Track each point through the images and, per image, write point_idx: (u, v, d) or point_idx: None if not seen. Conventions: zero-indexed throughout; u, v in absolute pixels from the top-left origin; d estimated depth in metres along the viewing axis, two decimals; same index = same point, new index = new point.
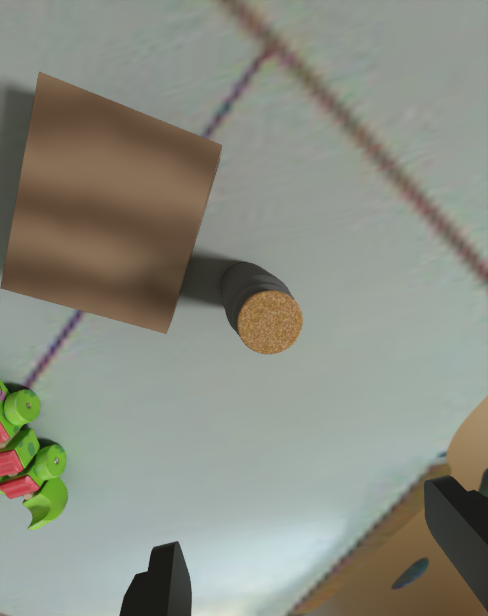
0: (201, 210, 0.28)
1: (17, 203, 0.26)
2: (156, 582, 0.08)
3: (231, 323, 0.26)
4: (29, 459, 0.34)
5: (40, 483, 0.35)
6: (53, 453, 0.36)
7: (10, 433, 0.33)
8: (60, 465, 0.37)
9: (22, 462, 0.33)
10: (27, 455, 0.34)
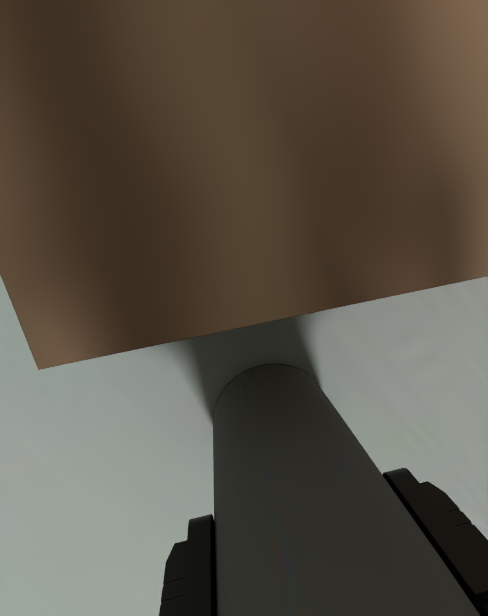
0: None
1: None
2: (196, 548, 0.09)
3: None
4: None
5: None
6: None
7: None
8: None
9: None
10: None
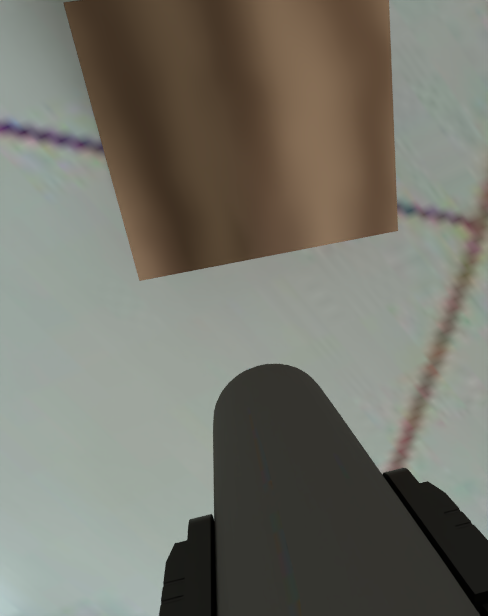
0: (318, 244, 0.21)
1: None
2: (197, 548, 0.09)
3: None
4: None
5: None
6: None
7: None
8: None
9: None
10: None
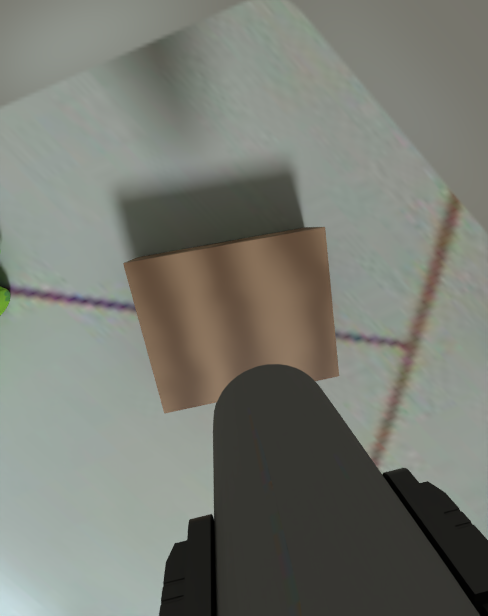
0: None
1: (211, 249, 0.27)
2: (196, 548, 0.09)
3: None
4: None
5: None
6: None
7: None
8: None
9: None
10: None
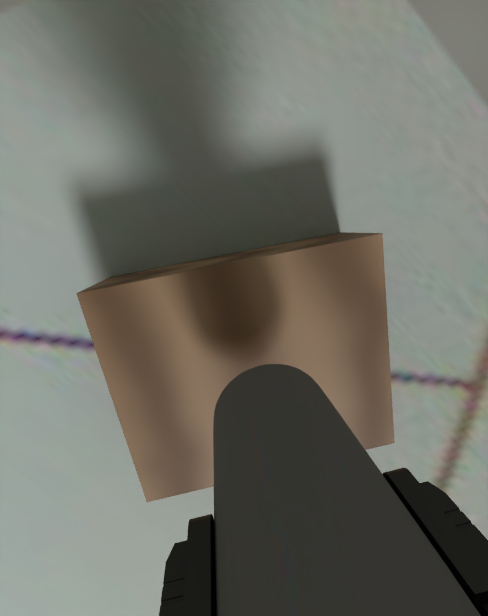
0: None
1: (211, 269, 0.18)
2: (196, 548, 0.09)
3: None
4: None
5: None
6: None
7: None
8: None
9: None
10: None
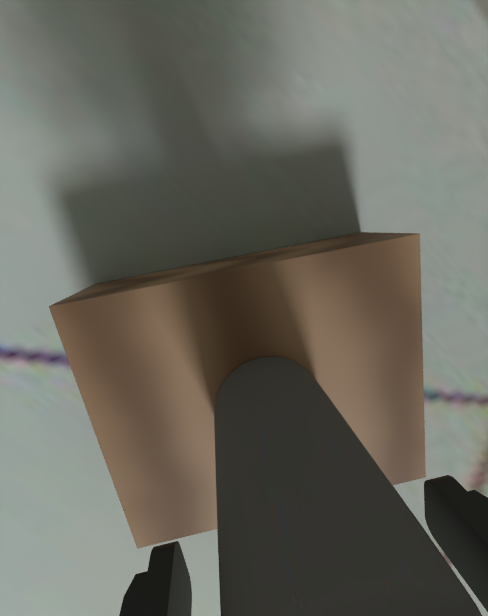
0: None
1: (214, 276, 0.14)
2: (156, 582, 0.08)
3: None
4: None
5: None
6: None
7: None
8: None
9: None
10: None
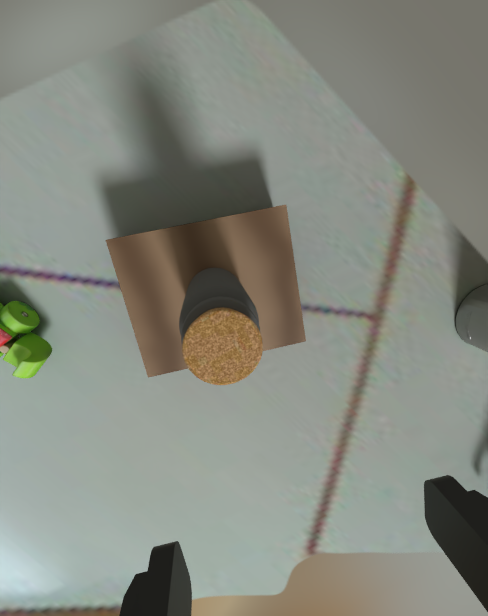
0: None
1: (184, 225, 0.30)
2: (156, 582, 0.08)
3: (186, 306, 0.21)
4: None
5: (12, 333, 0.33)
6: (17, 306, 0.34)
7: None
8: (31, 319, 0.35)
9: None
10: None
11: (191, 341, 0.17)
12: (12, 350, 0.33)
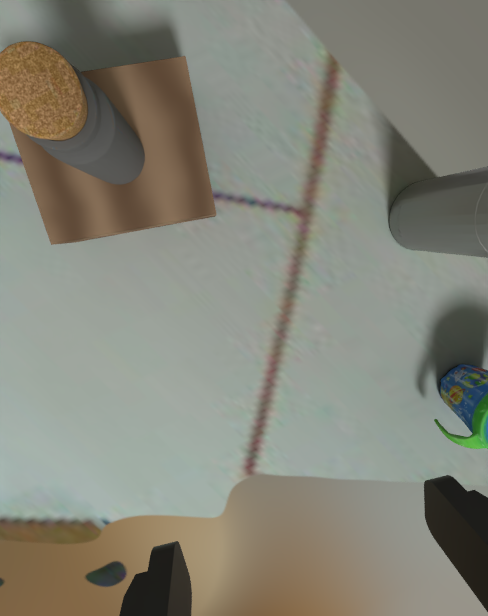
0: (164, 222, 0.33)
1: None
2: (156, 582, 0.08)
3: None
4: None
5: None
6: None
7: None
8: None
9: None
10: None
11: None
12: None
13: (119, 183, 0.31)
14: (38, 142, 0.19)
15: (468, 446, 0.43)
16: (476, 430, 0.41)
